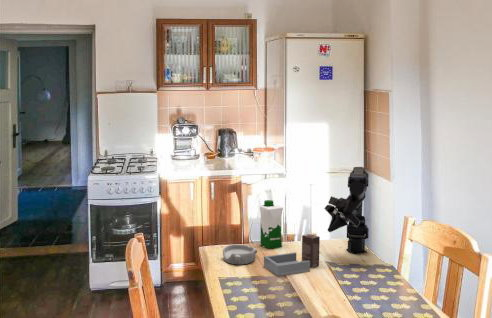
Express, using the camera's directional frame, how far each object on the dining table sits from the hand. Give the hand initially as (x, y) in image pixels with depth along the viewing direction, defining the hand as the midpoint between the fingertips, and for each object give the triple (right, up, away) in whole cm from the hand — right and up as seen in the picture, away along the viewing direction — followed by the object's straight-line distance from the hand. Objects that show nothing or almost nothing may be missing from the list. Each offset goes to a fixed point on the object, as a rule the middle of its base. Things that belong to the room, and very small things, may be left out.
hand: (328, 231), depth 226 cm
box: (-8, -13, -2) cm, 15 cm away
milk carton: (-22, -10, +25) cm, 34 cm away
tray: (-17, -14, -5) cm, 22 cm away
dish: (-36, -13, +6) cm, 38 cm away
